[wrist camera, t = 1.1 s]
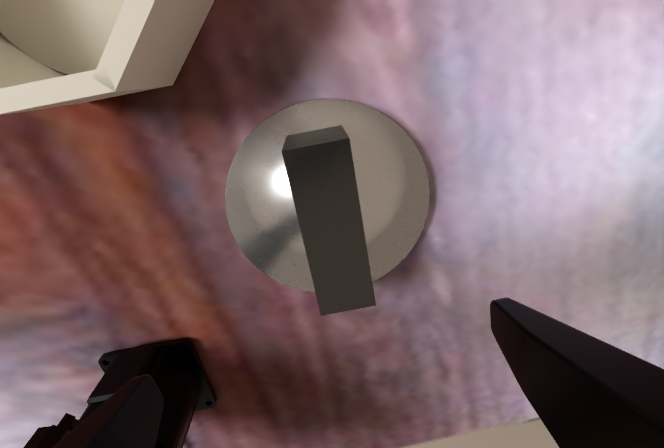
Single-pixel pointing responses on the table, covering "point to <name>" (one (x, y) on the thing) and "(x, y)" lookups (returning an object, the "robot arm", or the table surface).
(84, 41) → the cooker pot
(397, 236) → the cooker lid
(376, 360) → the table surface
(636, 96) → the table surface
